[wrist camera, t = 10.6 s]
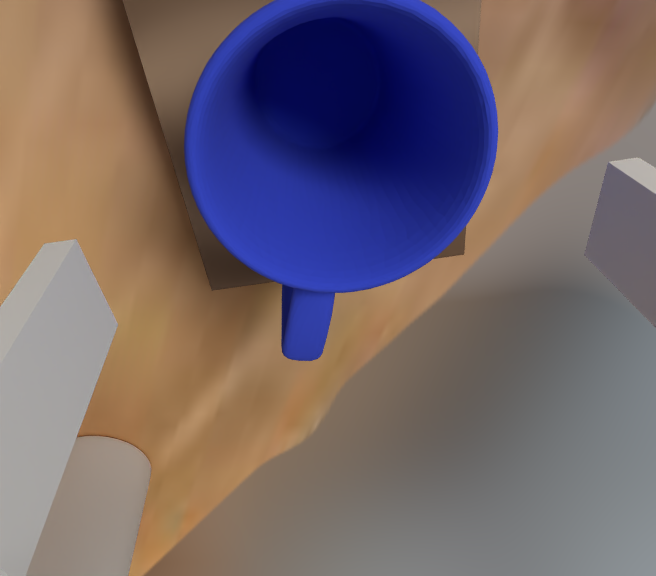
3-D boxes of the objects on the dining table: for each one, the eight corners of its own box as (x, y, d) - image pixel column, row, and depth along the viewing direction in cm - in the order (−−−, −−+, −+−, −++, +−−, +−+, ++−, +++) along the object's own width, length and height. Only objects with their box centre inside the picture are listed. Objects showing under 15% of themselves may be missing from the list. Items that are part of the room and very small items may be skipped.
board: (124, -70, 20) (100, -73, 17) (459, -114, 20) (489, -124, 17) (217, 256, 29) (211, 290, 26) (445, 224, 30) (464, 254, 27)
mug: (211, 233, 24) (181, 376, 16) (223, -55, 18) (183, -54, 10) (368, 249, 26) (412, 389, 18) (435, -12, 19) (554, 21, 11)
